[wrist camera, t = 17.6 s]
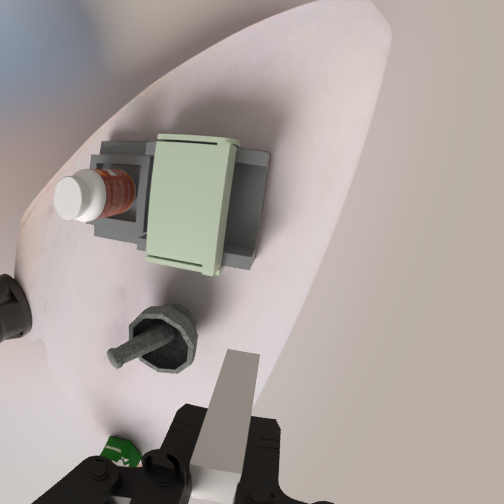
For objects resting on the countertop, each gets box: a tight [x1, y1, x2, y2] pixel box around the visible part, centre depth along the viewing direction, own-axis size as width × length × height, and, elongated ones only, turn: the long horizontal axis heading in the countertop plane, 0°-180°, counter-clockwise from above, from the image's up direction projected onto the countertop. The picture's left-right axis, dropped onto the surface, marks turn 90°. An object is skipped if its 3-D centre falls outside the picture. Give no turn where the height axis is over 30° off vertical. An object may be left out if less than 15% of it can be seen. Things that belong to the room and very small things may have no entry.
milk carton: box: [100, 437, 142, 467], centre depth 43 cm, size 9×9×20 cm
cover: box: [146, 134, 241, 276], centre depth 29 cm, size 9×15×6 cm, turn 172°
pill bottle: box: [54, 169, 136, 222], centre depth 30 cm, size 6×6×11 cm
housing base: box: [86, 141, 271, 270], centre depth 34 cm, size 24×14×6 cm, turn 82°
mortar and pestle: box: [107, 304, 198, 374], centre depth 35 cm, size 11×9×12 cm
